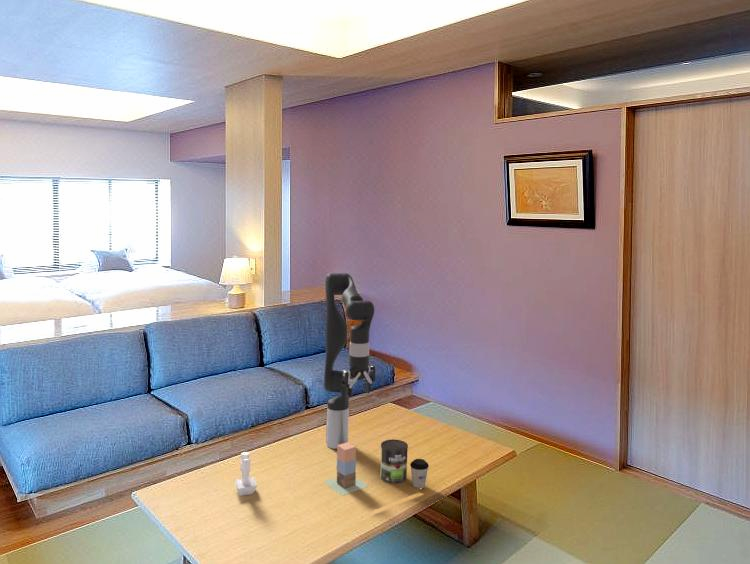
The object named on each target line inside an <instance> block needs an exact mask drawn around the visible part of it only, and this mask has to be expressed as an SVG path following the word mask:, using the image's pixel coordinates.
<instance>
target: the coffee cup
mask: <svg viewBox="0 0 750 564" xmlns="http://www.w3.org/2000/svg"><path fill="white" fill-rule="evenodd" d="M409 466H410V472H411V474H410V475H411V483H412V486H413V487H415V488H417V489H419V490H421V489H420V488H424V487H425V488H426V482H427V478H428V469H429V463H428V462H427V461H426V460H425V459H422V458H415V459H413V460H412V461H411V462H410V464H409ZM425 488H424V489H425Z"/></svg>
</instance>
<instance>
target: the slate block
mask: <svg viewBox="0 0 750 564" xmlns="http://www.w3.org/2000/svg"><path fill="white" fill-rule="evenodd" d="M356 466H357V459H356V460H353V461H350V462H346V463H344V462H342V461H341V460H339V459H338V458H337V457H336V472H337V471H338V472H340V473H341V474H343V475H344V476H346V475H349V474H351V473H354V472H356V473H357V468H356Z"/></svg>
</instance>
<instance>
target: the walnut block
mask: <svg viewBox="0 0 750 564" xmlns="http://www.w3.org/2000/svg"><path fill="white" fill-rule="evenodd" d="M356 475H357V471H356V472H354V473H351V474H349V475H346V476H344V475H343V474H341V473H340V472H338V471H337V470H336V478H337V484H339V485H340V486H341V487H343V488H344V489H345V488H348V487H351V486H354V485H356V478H357V477H356Z"/></svg>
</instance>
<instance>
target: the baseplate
mask: <svg viewBox="0 0 750 564" xmlns="http://www.w3.org/2000/svg"><path fill="white" fill-rule="evenodd" d="M323 483H324V484H325V485H327V486H328V487H329V488H331V489H333V490H334V491H335V492H336V493H338V494H339V495H340V496H346V495H348V494H351V493H353V492H356V491H359V490H362V489H364V488H366V487H367V488H368V487H369V485H368V484H367V483H366V482H364V481H362V480H360V479H359V478H358V477H356V485H354V486H351V487H348V488H345V489H344V488H343V487H341V486H340V485H339V484H337V477H335V478H333V479H329V480H327V481H324V482H323Z"/></svg>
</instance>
